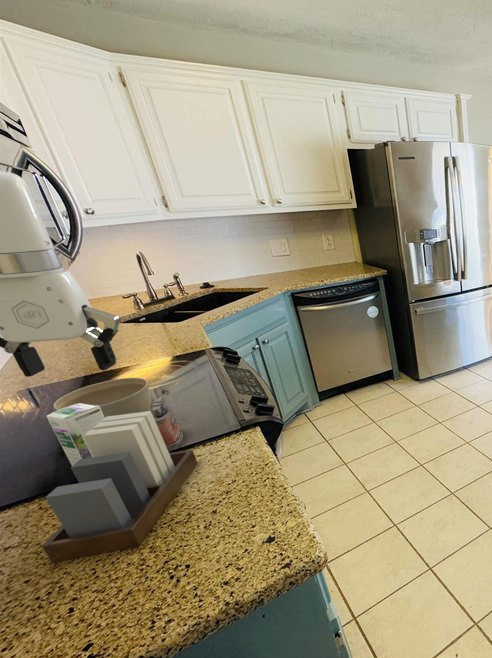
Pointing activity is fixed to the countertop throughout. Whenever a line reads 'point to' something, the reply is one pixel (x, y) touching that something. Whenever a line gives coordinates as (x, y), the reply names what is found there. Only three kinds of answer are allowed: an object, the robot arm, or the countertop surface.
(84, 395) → the planter bowl
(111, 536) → the book caddy
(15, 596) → the countertop surface
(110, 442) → the thin white book
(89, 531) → the grey books
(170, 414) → the lighter
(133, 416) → the white books
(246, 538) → the countertop surface
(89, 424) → the syrup box
